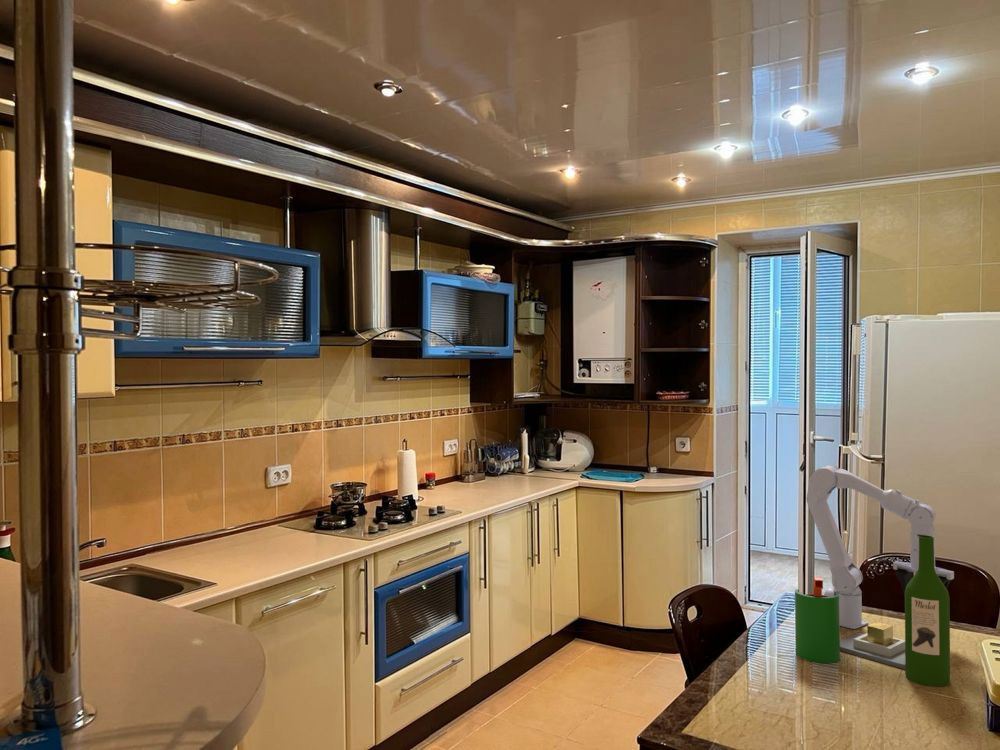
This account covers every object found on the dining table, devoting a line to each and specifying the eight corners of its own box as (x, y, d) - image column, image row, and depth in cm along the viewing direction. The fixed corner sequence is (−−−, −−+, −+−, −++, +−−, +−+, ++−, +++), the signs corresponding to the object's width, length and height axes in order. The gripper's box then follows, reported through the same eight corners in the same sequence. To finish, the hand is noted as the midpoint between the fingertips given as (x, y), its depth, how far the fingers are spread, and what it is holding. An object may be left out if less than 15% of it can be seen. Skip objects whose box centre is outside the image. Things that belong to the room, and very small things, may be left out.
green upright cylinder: (833, 650, 191) (832, 571, 192) (846, 664, 183) (845, 581, 183) (792, 649, 192) (791, 570, 193) (802, 662, 184) (801, 580, 184)
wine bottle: (905, 682, 171) (904, 538, 171) (905, 669, 179) (904, 531, 179) (951, 690, 167) (950, 542, 167) (949, 675, 175) (947, 534, 175)
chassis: (831, 648, 193) (831, 636, 193) (858, 636, 202) (858, 625, 202) (904, 669, 179) (904, 656, 179) (930, 655, 188) (930, 643, 188)
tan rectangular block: (867, 647, 191) (867, 625, 191) (876, 643, 194) (876, 621, 194) (883, 652, 188) (883, 629, 188) (893, 647, 191) (892, 625, 191)
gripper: (887, 547, 205) (888, 597, 205) (945, 557, 193) (946, 610, 193) (899, 543, 209) (900, 593, 209) (957, 553, 198) (957, 605, 198)
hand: (923, 601), depth 201 cm, fingers open, 7 cm apart
